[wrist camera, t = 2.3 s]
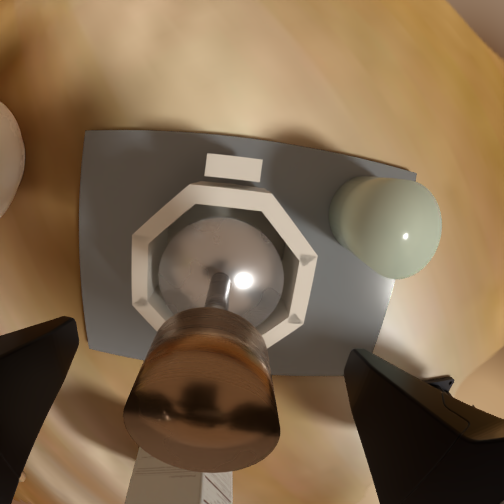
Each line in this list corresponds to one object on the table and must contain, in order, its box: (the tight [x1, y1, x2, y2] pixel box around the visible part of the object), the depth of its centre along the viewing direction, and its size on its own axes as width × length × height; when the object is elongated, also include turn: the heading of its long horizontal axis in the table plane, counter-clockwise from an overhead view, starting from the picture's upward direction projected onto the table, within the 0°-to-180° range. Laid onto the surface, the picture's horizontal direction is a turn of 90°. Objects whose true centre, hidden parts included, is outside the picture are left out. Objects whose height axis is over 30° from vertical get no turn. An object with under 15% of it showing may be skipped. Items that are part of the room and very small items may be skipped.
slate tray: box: [79, 130, 417, 376], centre depth 19 cm, size 22×16×1 cm
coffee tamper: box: [123, 216, 284, 473], centre depth 9 cm, size 6×6×9 cm
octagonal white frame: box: [132, 153, 318, 348], centre depth 16 cm, size 8×10×5 cm
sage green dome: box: [329, 176, 442, 279], centre depth 15 cm, size 5×5×5 cm
